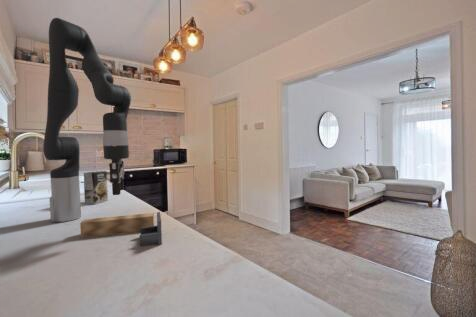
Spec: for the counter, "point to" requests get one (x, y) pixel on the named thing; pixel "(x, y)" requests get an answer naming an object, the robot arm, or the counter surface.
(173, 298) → the counter surface
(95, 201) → the coffee box
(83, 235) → the rail
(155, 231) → the cup bracket
